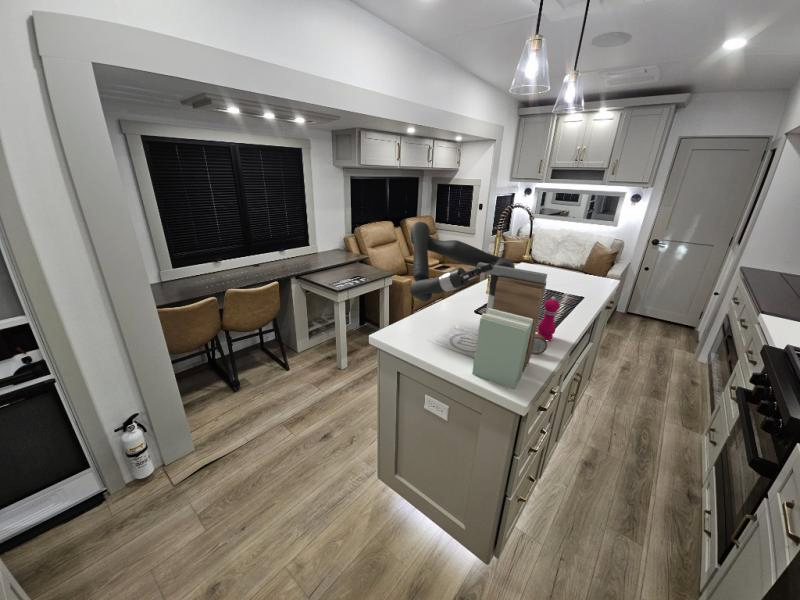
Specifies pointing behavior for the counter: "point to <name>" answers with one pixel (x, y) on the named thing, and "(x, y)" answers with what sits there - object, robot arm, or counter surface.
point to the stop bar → (516, 273)
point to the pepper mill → (548, 319)
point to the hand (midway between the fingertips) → (493, 265)
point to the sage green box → (501, 347)
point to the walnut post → (520, 303)
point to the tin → (539, 344)
